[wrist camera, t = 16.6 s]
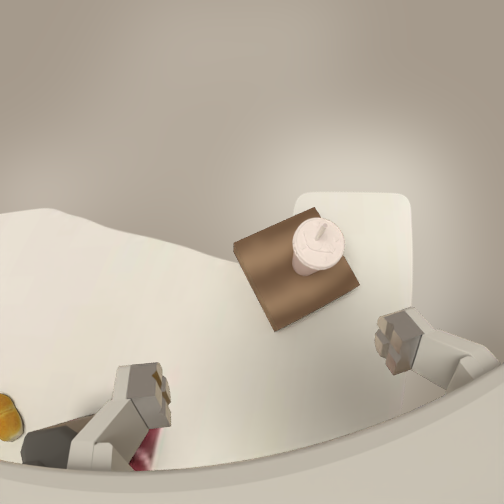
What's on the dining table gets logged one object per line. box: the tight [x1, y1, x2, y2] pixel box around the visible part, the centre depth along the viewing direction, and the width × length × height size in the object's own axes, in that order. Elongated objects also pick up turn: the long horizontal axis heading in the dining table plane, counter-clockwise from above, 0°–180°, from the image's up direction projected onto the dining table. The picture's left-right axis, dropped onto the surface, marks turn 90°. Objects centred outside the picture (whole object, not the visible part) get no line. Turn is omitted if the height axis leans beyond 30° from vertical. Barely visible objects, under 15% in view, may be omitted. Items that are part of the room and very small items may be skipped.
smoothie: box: [292, 218, 345, 276], centre depth 41 cm, size 6×6×14 cm
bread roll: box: [0, 394, 23, 442], centre depth 38 cm, size 8×9×4 cm
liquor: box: [21, 414, 129, 469], centre depth 26 cm, size 9×9×30 cm
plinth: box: [233, 207, 360, 332], centre depth 49 cm, size 14×14×4 cm
